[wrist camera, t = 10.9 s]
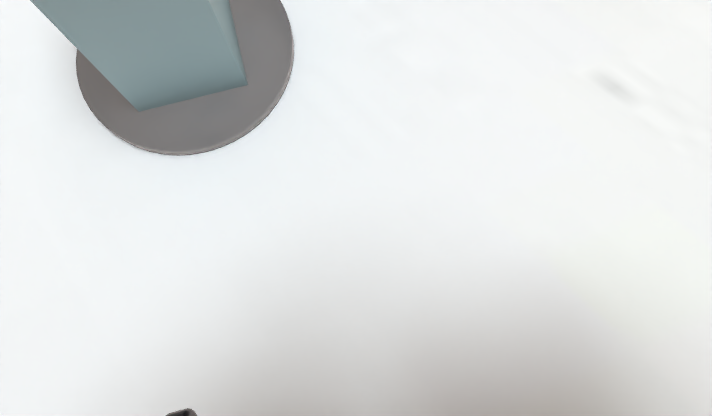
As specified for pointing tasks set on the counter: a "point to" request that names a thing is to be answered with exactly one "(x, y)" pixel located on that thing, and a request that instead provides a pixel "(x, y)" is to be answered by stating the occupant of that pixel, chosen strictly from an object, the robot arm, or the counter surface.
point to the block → (154, 45)
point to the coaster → (210, 112)
